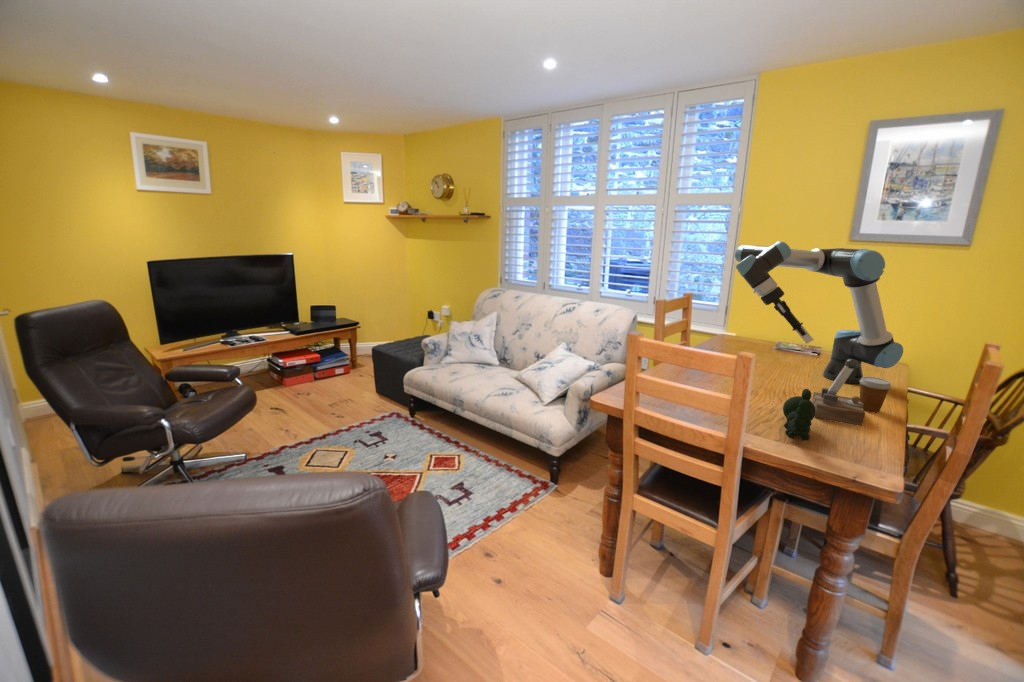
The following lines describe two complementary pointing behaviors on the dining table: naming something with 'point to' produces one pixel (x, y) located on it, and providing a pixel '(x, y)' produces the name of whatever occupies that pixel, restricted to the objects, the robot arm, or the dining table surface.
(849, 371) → the lever
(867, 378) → the disposable coffee cup
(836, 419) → the base
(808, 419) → the toy figurine
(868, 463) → the dining table surface
